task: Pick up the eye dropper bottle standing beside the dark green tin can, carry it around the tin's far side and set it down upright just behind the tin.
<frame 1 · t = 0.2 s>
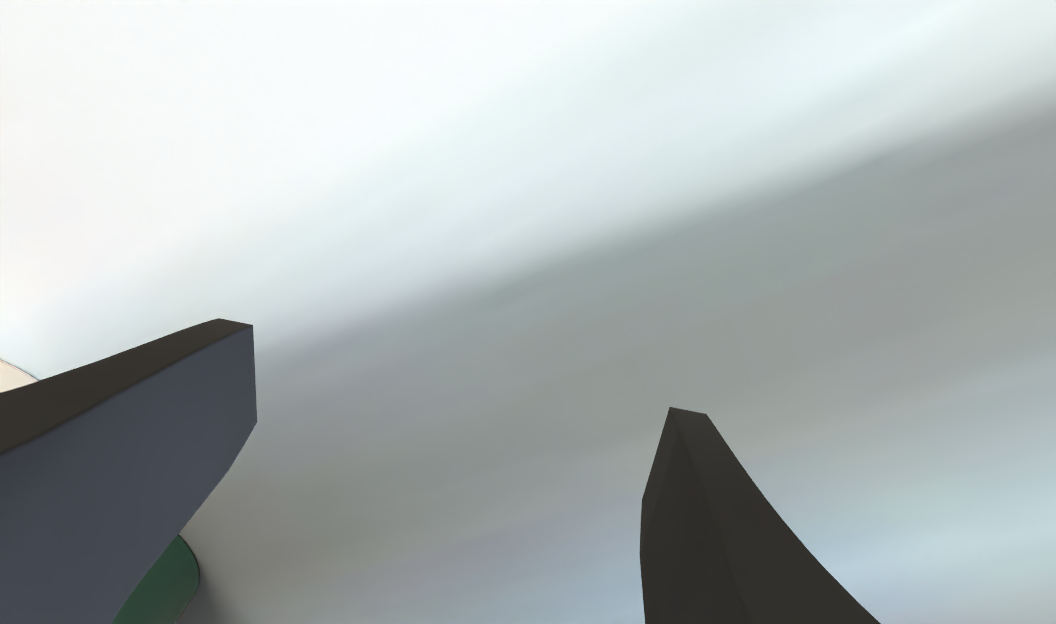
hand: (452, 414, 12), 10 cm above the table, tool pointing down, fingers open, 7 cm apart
green tin can: (127, 557, 30), on the table
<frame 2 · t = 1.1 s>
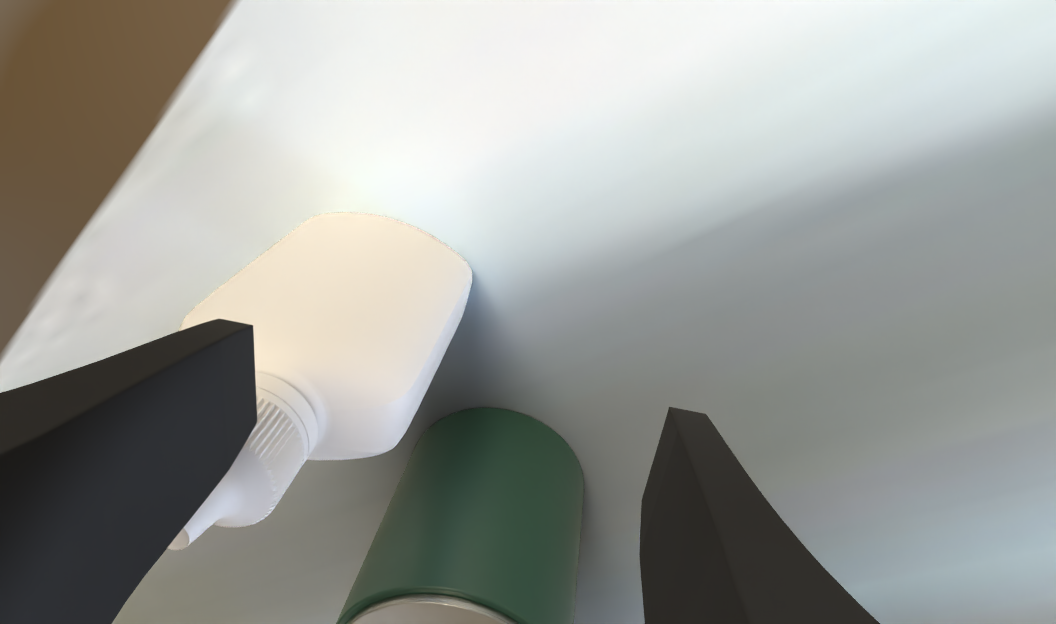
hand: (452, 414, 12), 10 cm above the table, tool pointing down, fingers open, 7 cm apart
eye dropper bottle: (391, 263, 22), on the table, touching gripper
green tin can: (496, 480, 26), on the table
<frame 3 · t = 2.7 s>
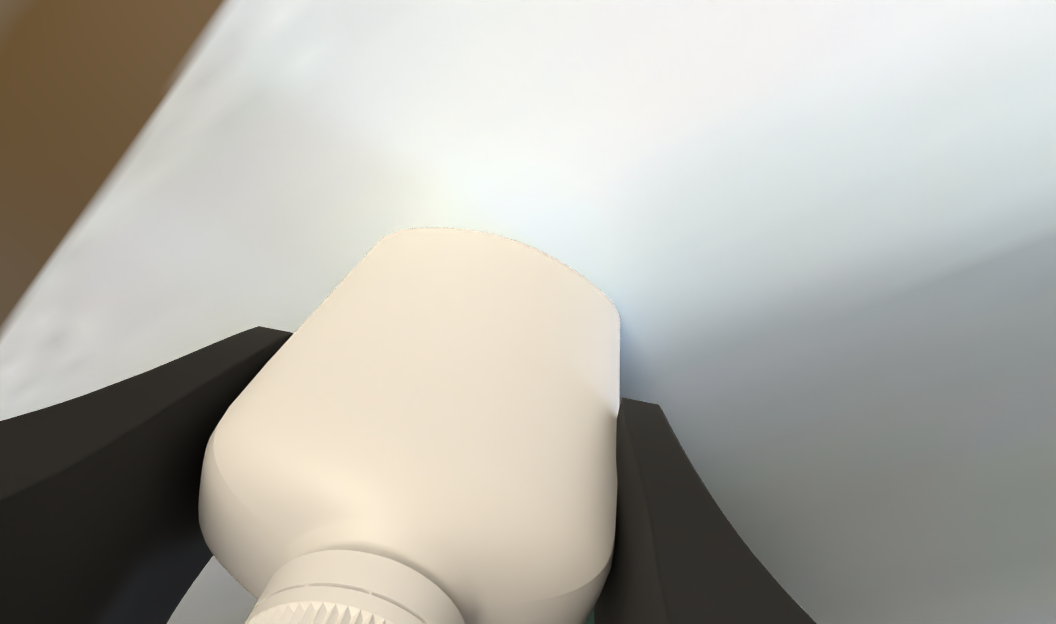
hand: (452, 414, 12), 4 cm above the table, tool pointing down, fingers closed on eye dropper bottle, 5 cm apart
eye dropper bottle: (495, 299, 16), on the table, touching gripper
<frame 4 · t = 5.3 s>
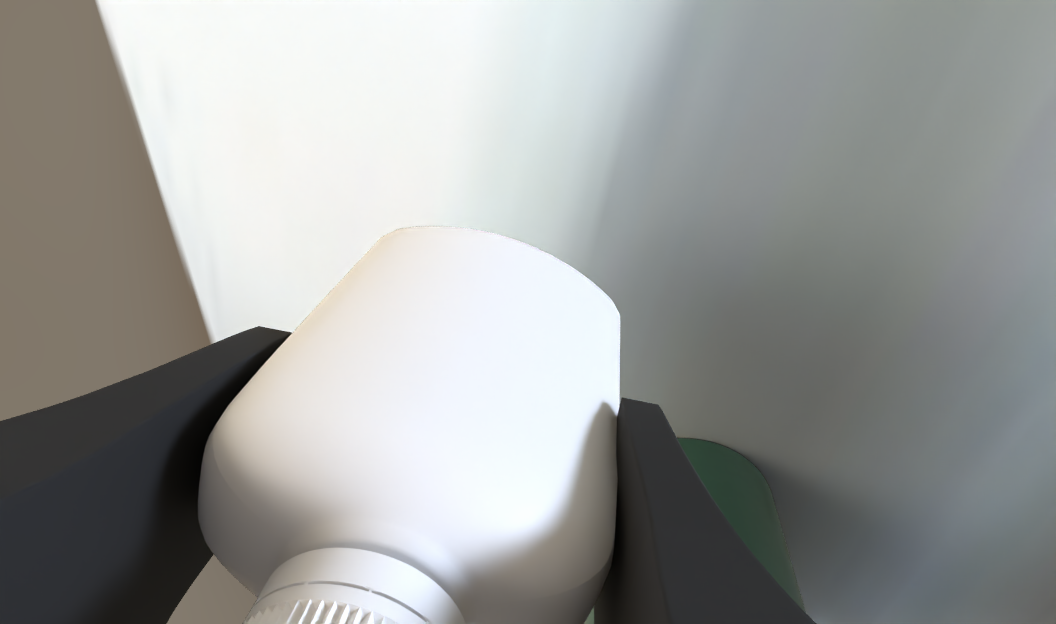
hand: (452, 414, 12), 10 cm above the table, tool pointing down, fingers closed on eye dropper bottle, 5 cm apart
eye dropper bottle: (495, 298, 16), point 6 cm above the table, touching gripper
green tin can: (680, 510, 25), on the table
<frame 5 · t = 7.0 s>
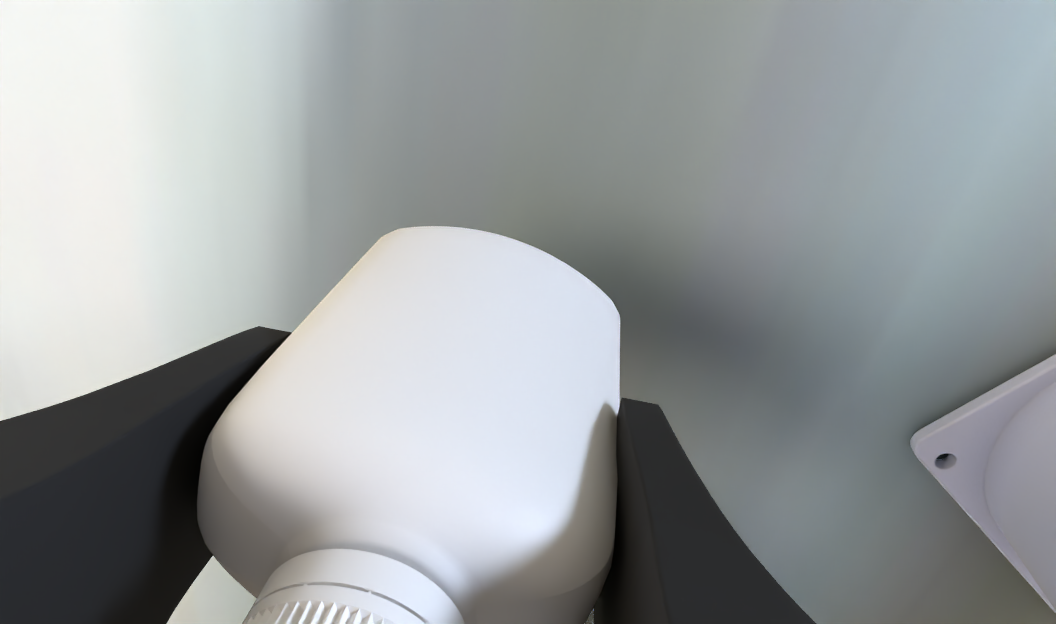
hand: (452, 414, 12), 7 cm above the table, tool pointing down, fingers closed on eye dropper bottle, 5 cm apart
eye dropper bottle: (495, 298, 16), point 2 cm above the table, touching gripper
when the fingers open (4 cm above the table, at t = 8.3 s): eye dropper bottle stays where it is, on the table.
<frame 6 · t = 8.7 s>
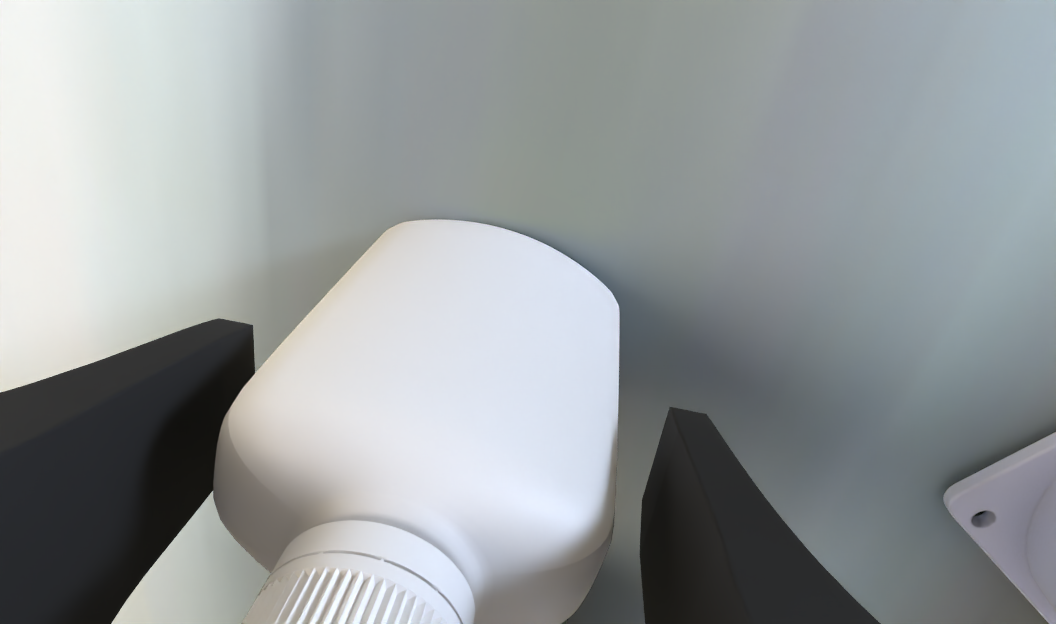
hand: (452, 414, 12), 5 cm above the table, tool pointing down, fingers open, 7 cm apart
eye dropper bottle: (497, 290, 16), on the table
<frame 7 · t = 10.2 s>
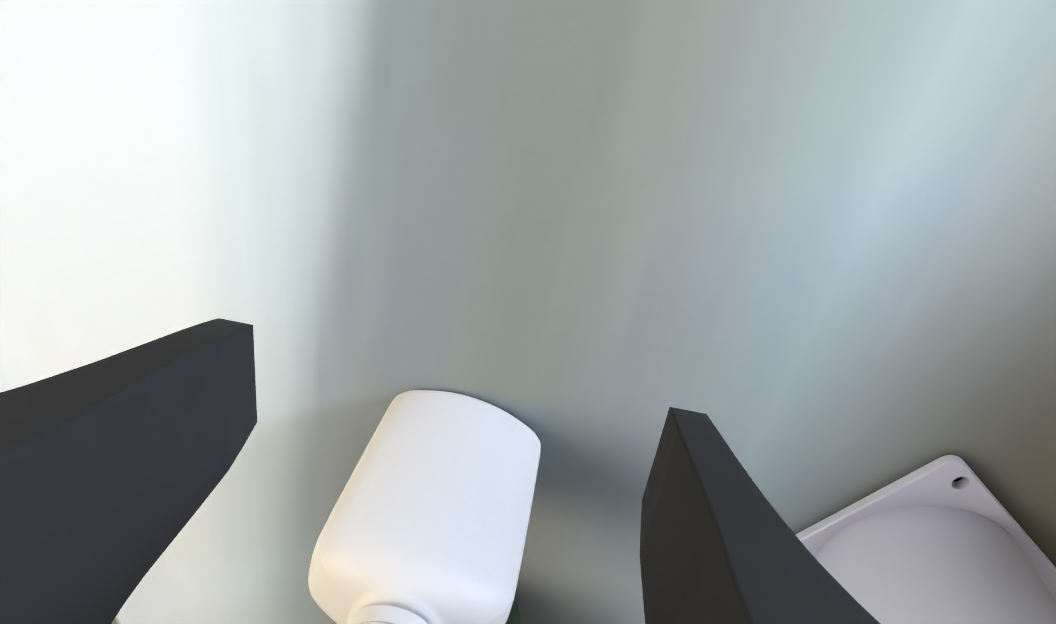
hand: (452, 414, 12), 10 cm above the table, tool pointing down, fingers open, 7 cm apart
eye dropper bottle: (465, 429, 25), on the table
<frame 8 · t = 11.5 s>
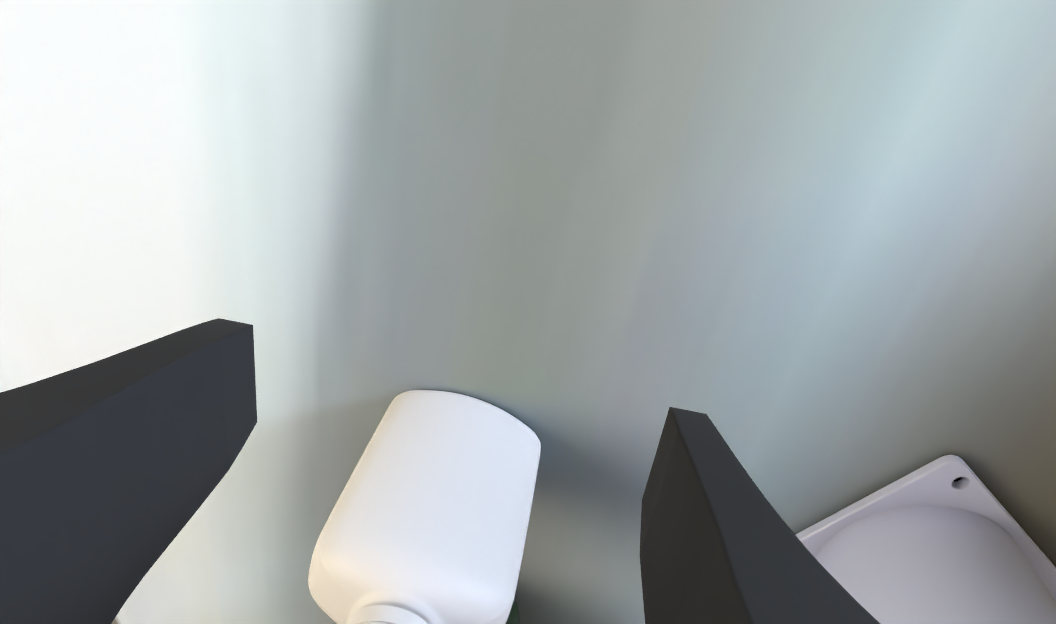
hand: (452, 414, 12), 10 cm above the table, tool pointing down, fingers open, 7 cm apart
eye dropper bottle: (465, 429, 25), on the table
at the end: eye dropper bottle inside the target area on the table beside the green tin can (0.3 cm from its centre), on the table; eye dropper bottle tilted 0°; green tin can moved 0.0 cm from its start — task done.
